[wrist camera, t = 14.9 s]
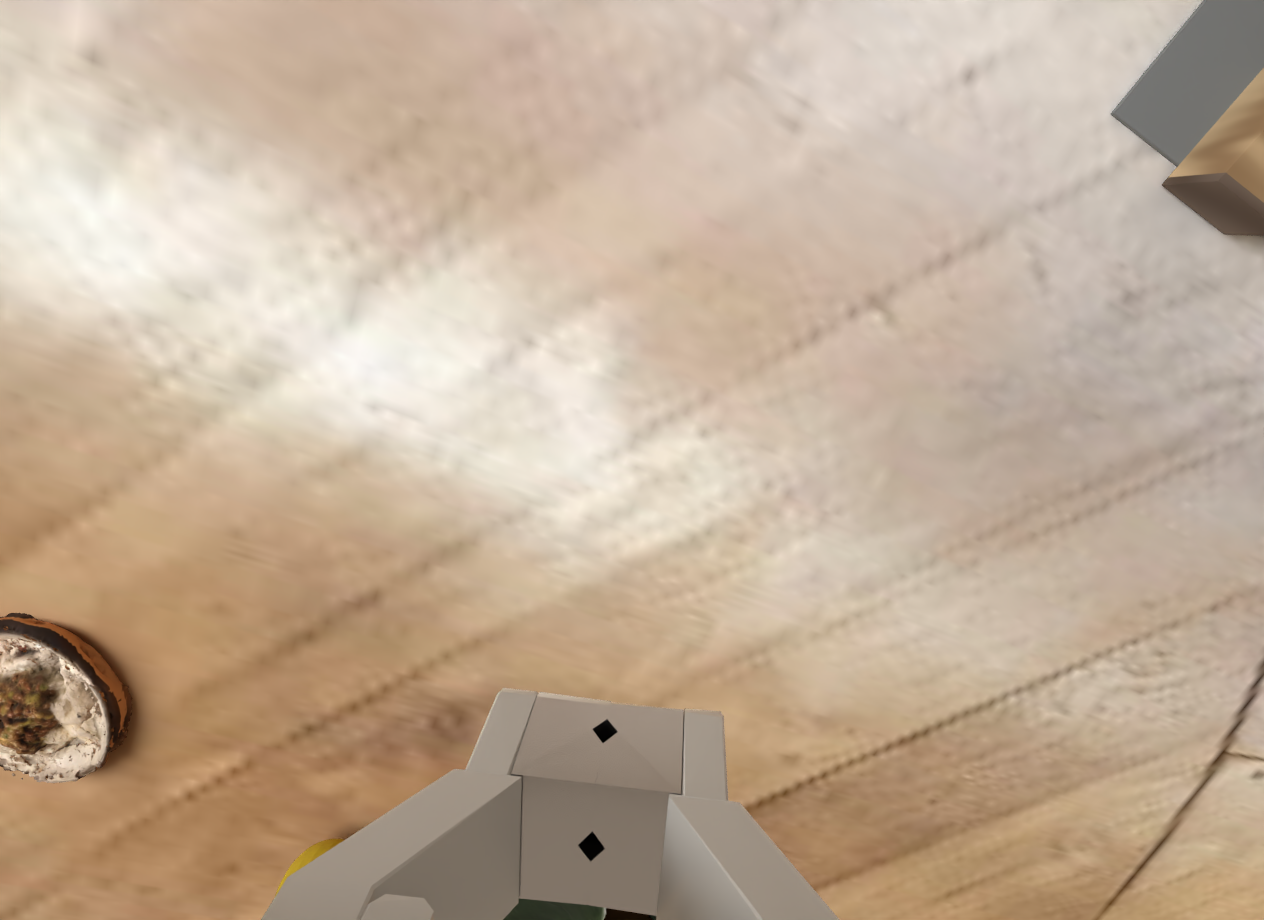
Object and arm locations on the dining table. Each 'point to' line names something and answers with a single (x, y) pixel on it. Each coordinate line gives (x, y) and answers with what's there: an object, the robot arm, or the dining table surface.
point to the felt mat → (1196, 77)
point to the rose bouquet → (555, 911)
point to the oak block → (1228, 168)
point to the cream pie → (56, 702)
